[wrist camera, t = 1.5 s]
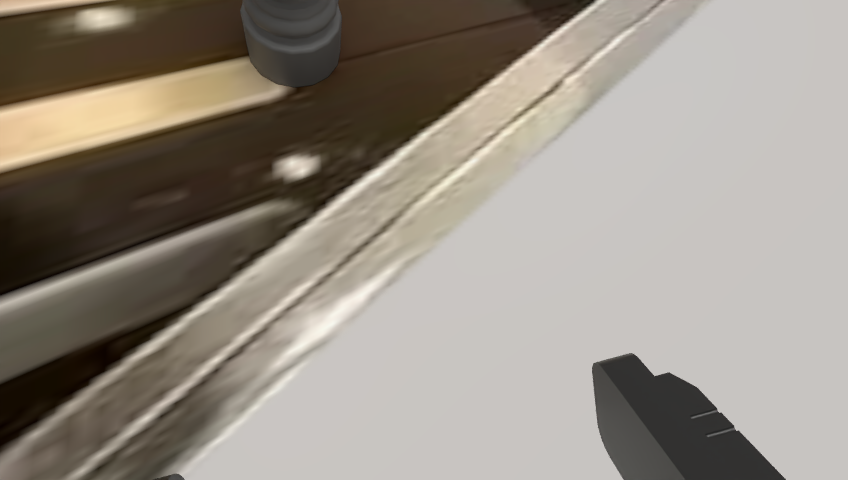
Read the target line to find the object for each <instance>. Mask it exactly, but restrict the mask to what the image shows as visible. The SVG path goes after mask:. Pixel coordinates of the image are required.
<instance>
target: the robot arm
mask: <svg viewBox="0 0 848 480" xmlns="http://www.w3.org/2000/svg"><path fill="white" fill-rule="evenodd" d="M592 374H593V383H594V394H595V404H596V413H597V423H598V428H599V432H600V435H601V438H602V441H603V443H604V446H605V448H606V450H607V452H608V454H609V456H610V458H611V460H612V461H613V463H614V464H615V466H616V468H617V469H618V471H619V473H620V474H621V476H622V478H623V479H624V480H786V479H785V478H784V477H783V476H782V475H781V474H780V473H779V472H778V471H777V470H776V469H775V468H774V467H773V466H772V465H771V464H770V463H769V462H768V461H767V460H766V459H765V457H764V456H762V454H761V453H760V452H759V451H758V450H757V449H756V448H755V447H754V446H753V445H752V444H751V443H750V442H749V441H748V440H747V439H746V438H745V437H744V436H743V435H742V434H741V433H740V432H739V431H736V430H735V428H734V425H733V424H732V423H731V422H730V421H729V420H728V419H727V418H726V417H725V416H724V415H723V414H722V413H719V412H718V411H717V408H716V407H715V406H714V405H713V404H712V403H711V402H710V401H709V400H708V398H707V397H705V395H704V394H703V393H702V392H701V391H700V390H699V389H698V388H697V387H695V386H693V385H692V384H690V383H688V382H686V381H684V380H682V379H680V378H678V377H676V376H674V375H673V374H671V373H665V374H661V375H658V376H654V375H653V374H652V373H651V372H650V371H649V370H648V368H647V367H646V366H645V365H644V364H643V363H642V362H641V360H640V359H639V358H638V357H637V356H636V355H634V354H632V353H629V354H626V355H622V356H619V357H615V358H611V359H607V360H603V361H600V362H596V363H594V364H593V367H592ZM154 480H184V478H183V477H182V476H181V475H179V474H172V475H169V476H165V477H161V478H157V479H154Z"/></svg>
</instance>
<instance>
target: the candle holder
mask: <svg viewBox="0 0 848 480" xmlns="http://www.w3.org/2000/svg"><path fill="white" fill-rule="evenodd" d="M338 1H339V0H243V3H242V7H241V10H240V13H241V18H242V23H243V28H244V33H245V38H246V43H247V48H248V52H249V56H250V61H251V63H252V64H253V65H254V66H255V68H256V69H257V70H258V71H259V73H260V74H261V75H262V76H264V77H266V78H268V79H269V80H271V81H273V82H275V83H277V84H281V85H286V86H291V87H301V86H308V85H314V84H316V83H318V82H320V81H321V80H323V79H325V78H327V77H328V76H329V75H330V74H331V73H332V71H333V70H334V69H335V67H336V66H337V65H338V60H339V54H340V44H341V23H342V16H341V13H340V9H339V6H338Z"/></svg>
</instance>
